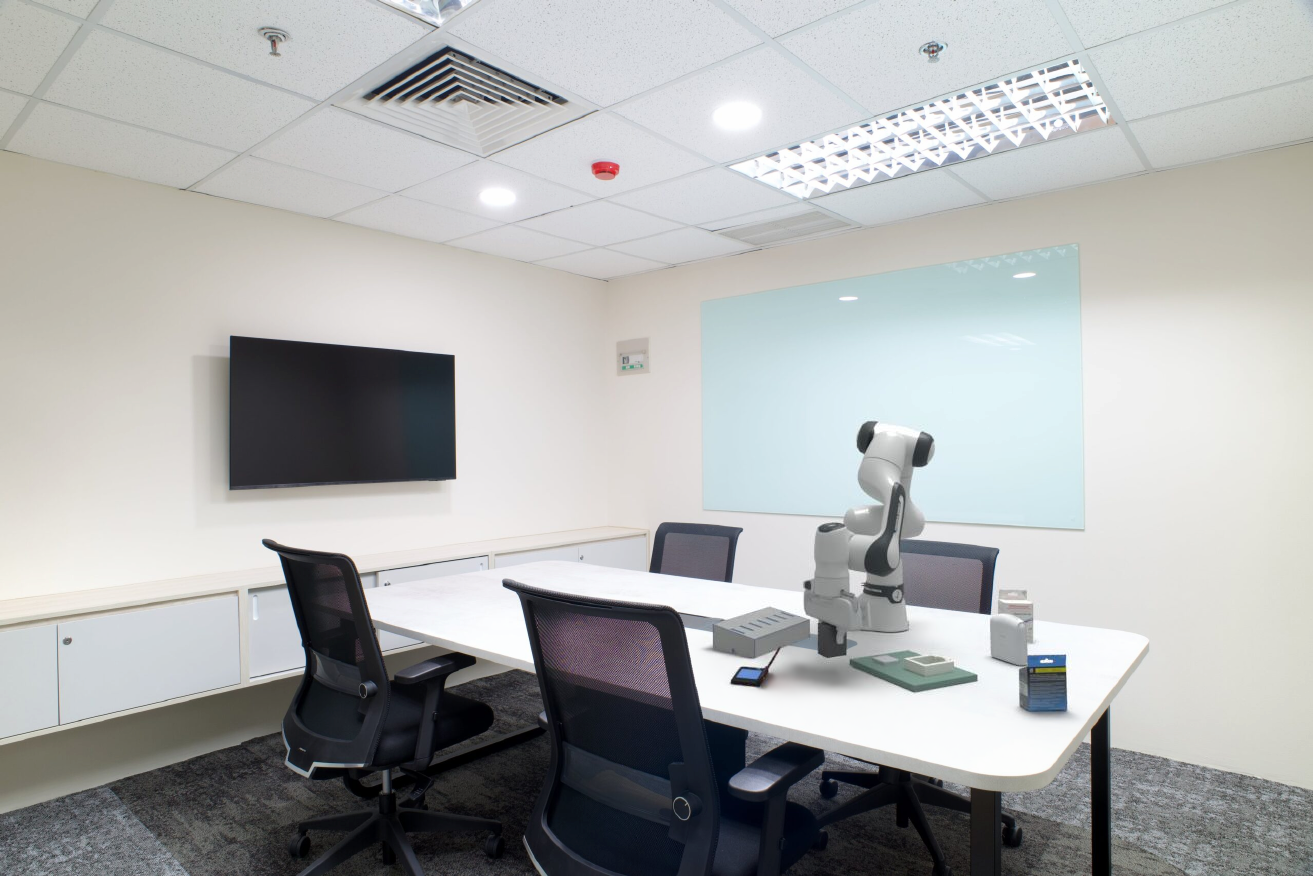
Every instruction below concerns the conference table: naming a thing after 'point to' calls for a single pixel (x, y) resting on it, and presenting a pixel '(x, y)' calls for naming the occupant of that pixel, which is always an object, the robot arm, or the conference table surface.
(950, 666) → the board
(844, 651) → the plug
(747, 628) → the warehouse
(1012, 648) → the photo printer
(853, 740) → the conference table surface
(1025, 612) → the ink cartridge box
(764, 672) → the handheld game console
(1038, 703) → the label tape cartridge
